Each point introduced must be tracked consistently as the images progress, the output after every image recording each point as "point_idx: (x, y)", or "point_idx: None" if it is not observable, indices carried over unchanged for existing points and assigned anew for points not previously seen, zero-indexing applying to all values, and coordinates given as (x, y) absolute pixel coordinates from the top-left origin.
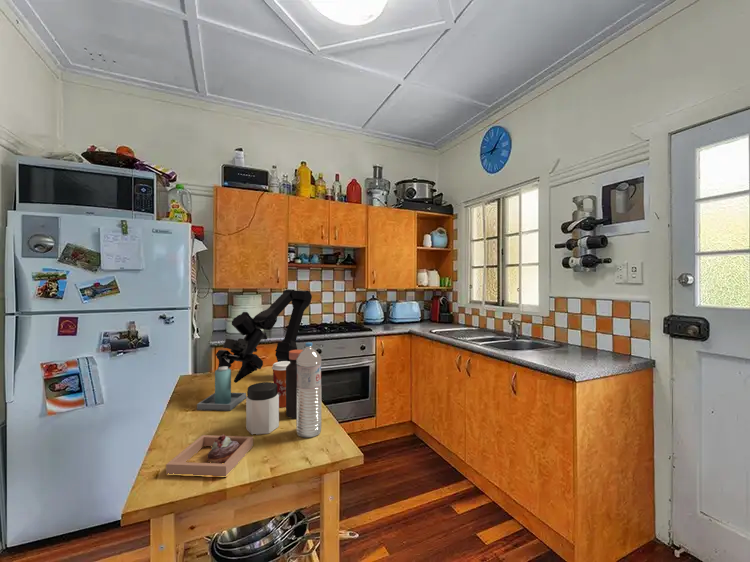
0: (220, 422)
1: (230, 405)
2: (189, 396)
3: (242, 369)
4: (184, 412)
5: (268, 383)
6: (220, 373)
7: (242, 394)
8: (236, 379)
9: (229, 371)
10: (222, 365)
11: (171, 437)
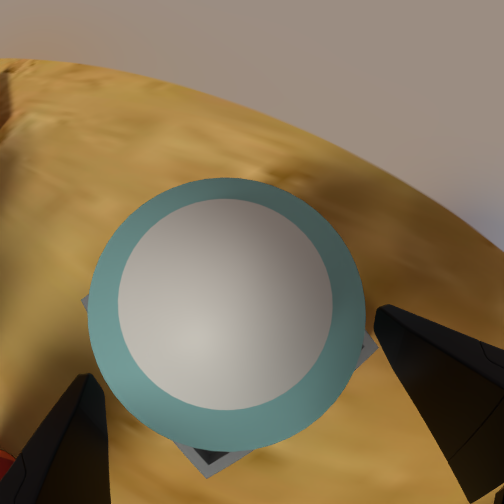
0: (37, 214)
1: (84, 302)
2: (455, 260)
3: (1, 480)
4: (266, 160)
5: None
6: (136, 220)
7: (194, 451)
8: (69, 396)
9: (101, 364)
10: (487, 400)
11: (91, 87)
